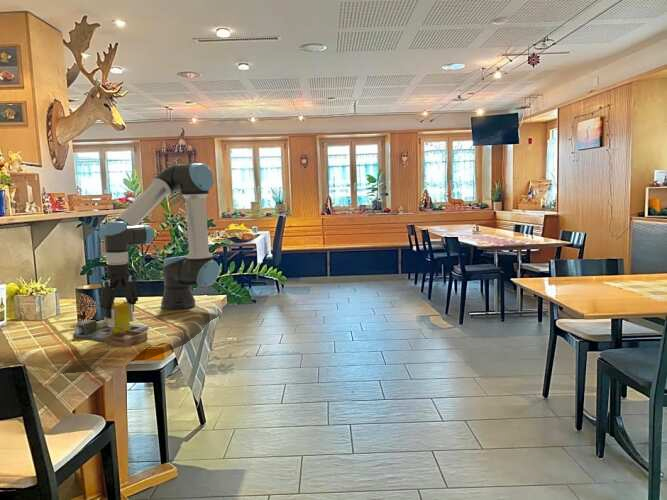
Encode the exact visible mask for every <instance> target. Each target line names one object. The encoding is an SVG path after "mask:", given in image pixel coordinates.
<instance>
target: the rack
mask: <svg viewBox="0 0 667 500" xmlns="http://www.w3.org/2000/svg"><path fill="white" fill-rule="evenodd" d="M147 340H148V332H146V331H142V332H140V331H133V329H130V330H124V331H121V332H118V333H114V334H111V335H108V336H105V342H104V343H105V345H110V344H111V345H110V346H116V345H118V346H117V347H122V346H124V347H123V348H128V347H130V345H131V346H133V345H136V344H139V343H142V342H145V341H147ZM127 346H128V347H127Z"/></svg>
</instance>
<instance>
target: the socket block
mask: <svg viewBox="0 0 667 500" xmlns="http://www.w3.org/2000/svg"><path fill="white" fill-rule="evenodd" d="M96 322H97V321H96V320H91V319H86V320H82V321H79V322H78V321H77V322H76V327H79V326H83V330H84V332H83V333H80V334H77V333H75V332H73V333H72V336H73V337H74V338H79V337H80V338H81V339H85V338H86V339H87V340H91V339H93V341H98V340H100V341H99V342H104V341H105V336H108V335H111V334H114V333H113V327H108V326H104V327H101V328H97V325H96ZM130 330H133V331H140V332H146V331H148V330H149V326H146V325H138V324H133V323H132V324H131V323H130ZM86 339H85V340H86Z"/></svg>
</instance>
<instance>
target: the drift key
mask: <svg viewBox="0 0 667 500" xmlns="http://www.w3.org/2000/svg"><path fill="white" fill-rule="evenodd" d="M96 325H97V328H101V327H104V326H108V321H107V318H106V317H104V320H99V321H96ZM83 332H84V330H83V326H79V327H77V326H75V327H74V333H77V334H80V333H83Z"/></svg>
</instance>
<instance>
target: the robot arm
mask: <svg viewBox="0 0 667 500" xmlns="http://www.w3.org/2000/svg"><path fill="white" fill-rule="evenodd" d="M214 180H215V179H214V175H213V172H212V170H211V168H210V167H209V166H208V165H206V164H204V163H199V162H194V163H193V162H192V163H176V164H172V165H170V166H168V167H166V168H165V169H163V170H162V171H160V173H158V174H157V175H156V176H155V177H154V178H153V179H152V180H151V182H150V183H151V184H150V185H149V186H148V187H147V188H146V189H145V190H144V191H143V192H142V193H141V194H140V195H139V196H138V197H137V198H136V199H135V200H134V201H133V202H132V203H131V204H130V205H129V206H128V207H127V208H125V210H124V211H123V212H122V213H121V214H120V215H118V217H116V219H115V220H112V221H110V220H109V221H107V222H105V224H103V225H102V226H100V228H99V230H98V238H99V239H100V240H101V242H102V243H105V244H104V245H105V262H106V263H107V264H106V274H107V275H108V278H107V279H106V280H105V281H104V280H102V281H100V287H102V292H101V303H100V308H101V309H105V310H106V318H107V321H108V327H115V320H114V309H112V306H113V303H115V299H116V295H117V292H118V291H119V289H120V290H121V291H122V293H123V295H124V297H125V300H126V302H128V305H129V321H130V322H134V312H135V304H137V302H138V301H139V297H138V293H137V287H136V277H135V276H133V275H129V273H130V264H129V259H130V258H129V247H130V246H139V245H140V246H142V245H148V244H151V243H152V242H153V241H154V239H155V230H154V229H153V227H152V226H151V225H149V224H140V223H141V222H142V221H143V220H145V218H146V217H147V216H148V215H149V214H150V213H151V212H152V211H154V210H153V209H155V208H156V206H158V205H159V204H160V203H161V202H162V201H163V200H164V199H165V198H168V197H170V196H171V195H172V194H173V193H175V192H179V191H180V194H181V197H183V198H184V200H185V212H186V214H185V215H186V227H187V242H188V253H187V254H186V255H180V256H172V257H167V258H165V259H164V260H163V265H162V266H163V267H162V269H163V285H164V291H163V295H162V298H161V302H160V306H161V309H164V310H184V309H189V308H193V307H195V306H196V298H195V297H194V293H193V291H192V286H196V287H197V286H198V287H210V286H212V285H213V284H214V283H216V280H218V277H219V274H220V266H219V264H218V262H217V261H215V260H214V258H213V257H214V255H213V254H212V253H211V252H210V250H209V249H210V248H209V233H208V231H209V230H208V217H207V214H208V213H207V201H206V200H207V199H206V198H207V197H208V196H209V194H210V190H211V189H212V188H213V185H214V182H215V181H214ZM113 288H114V289H113Z"/></svg>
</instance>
